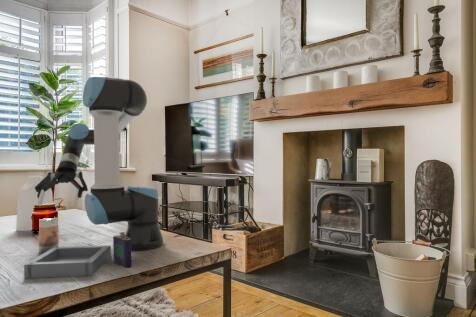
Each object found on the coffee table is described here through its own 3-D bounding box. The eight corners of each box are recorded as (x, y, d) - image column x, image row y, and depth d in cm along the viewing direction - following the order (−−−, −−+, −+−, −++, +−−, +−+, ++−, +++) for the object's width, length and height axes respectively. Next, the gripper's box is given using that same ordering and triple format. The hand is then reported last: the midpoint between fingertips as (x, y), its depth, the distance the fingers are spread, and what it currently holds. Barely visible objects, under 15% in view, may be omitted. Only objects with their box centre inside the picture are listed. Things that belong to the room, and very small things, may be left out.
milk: (54, 226, 173) (54, 175, 173) (39, 231, 161) (38, 176, 161) (32, 225, 174) (32, 175, 174) (16, 230, 162) (15, 177, 162)
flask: (111, 262, 111) (111, 230, 111) (120, 260, 113) (119, 229, 113) (126, 269, 105) (126, 234, 105) (134, 266, 107) (134, 233, 107)
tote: (110, 256, 118) (110, 245, 118) (92, 275, 99) (92, 262, 99) (54, 258, 116) (54, 247, 116) (24, 278, 97) (24, 264, 97)
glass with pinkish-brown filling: (61, 248, 130) (61, 217, 129) (54, 253, 123) (53, 220, 123) (44, 249, 129) (43, 217, 129) (35, 253, 122) (34, 220, 122)
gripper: (99, 171, 156) (91, 208, 142) (40, 171, 151) (26, 210, 137) (96, 159, 151) (88, 197, 136) (35, 160, 146) (20, 199, 132)
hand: (57, 203), depth 137 cm, fingers open, 13 cm apart
